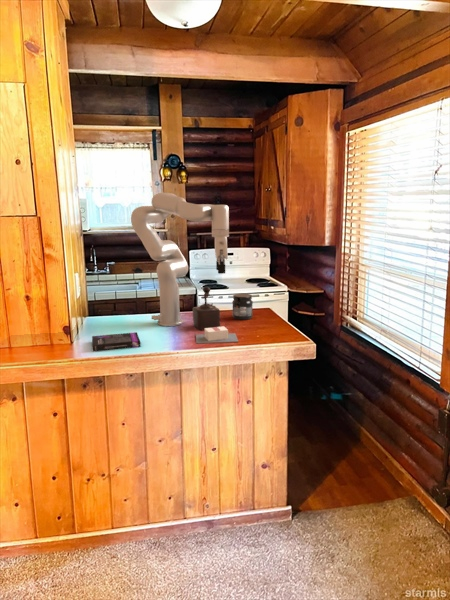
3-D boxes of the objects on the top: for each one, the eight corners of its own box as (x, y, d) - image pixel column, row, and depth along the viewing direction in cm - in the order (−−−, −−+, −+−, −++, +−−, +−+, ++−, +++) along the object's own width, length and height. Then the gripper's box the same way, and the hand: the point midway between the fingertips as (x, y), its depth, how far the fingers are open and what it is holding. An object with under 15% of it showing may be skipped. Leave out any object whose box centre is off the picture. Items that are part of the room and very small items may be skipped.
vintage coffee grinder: (221, 328, 212) (221, 291, 208) (200, 330, 208) (199, 293, 204) (209, 320, 226) (209, 285, 222) (189, 322, 221) (188, 287, 218)
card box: (228, 338, 194) (228, 329, 193) (208, 340, 191) (208, 331, 191) (223, 334, 200) (223, 326, 199) (204, 336, 197) (204, 328, 196)
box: (137, 339, 199) (92, 342, 193) (137, 332, 198) (91, 334, 193) (140, 348, 186) (92, 352, 180) (140, 340, 185) (91, 344, 180)
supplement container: (243, 314, 237) (243, 292, 235) (256, 318, 229) (257, 295, 227) (228, 317, 231) (228, 295, 228) (241, 321, 223) (241, 298, 220)
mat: (196, 343, 189) (196, 342, 189) (195, 335, 201) (195, 334, 201) (238, 342, 191) (238, 341, 191) (235, 334, 202) (235, 333, 202)
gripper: (230, 234, 188) (231, 274, 191) (227, 231, 204) (227, 268, 208) (213, 234, 187) (213, 275, 191) (210, 232, 204) (211, 268, 208)
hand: (220, 271), depth 199 cm, fingers open, 9 cm apart
